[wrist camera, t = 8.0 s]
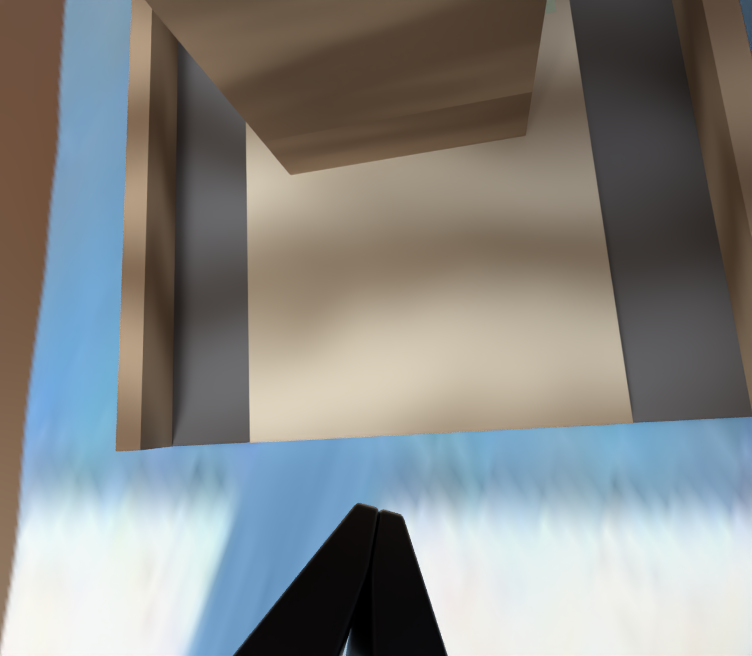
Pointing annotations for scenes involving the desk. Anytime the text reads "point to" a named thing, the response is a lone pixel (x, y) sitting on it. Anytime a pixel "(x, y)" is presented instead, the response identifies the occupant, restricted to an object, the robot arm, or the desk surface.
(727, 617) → the desk surface
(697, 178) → the wooden rectangular frame
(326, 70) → the bookend
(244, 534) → the desk surface
